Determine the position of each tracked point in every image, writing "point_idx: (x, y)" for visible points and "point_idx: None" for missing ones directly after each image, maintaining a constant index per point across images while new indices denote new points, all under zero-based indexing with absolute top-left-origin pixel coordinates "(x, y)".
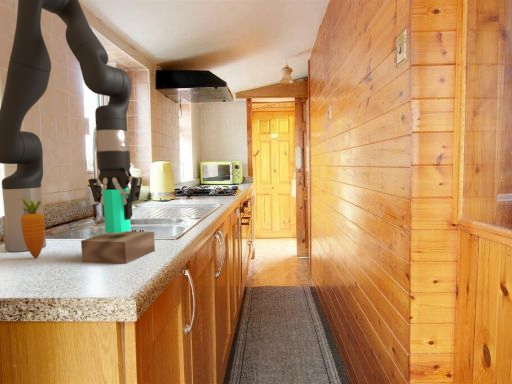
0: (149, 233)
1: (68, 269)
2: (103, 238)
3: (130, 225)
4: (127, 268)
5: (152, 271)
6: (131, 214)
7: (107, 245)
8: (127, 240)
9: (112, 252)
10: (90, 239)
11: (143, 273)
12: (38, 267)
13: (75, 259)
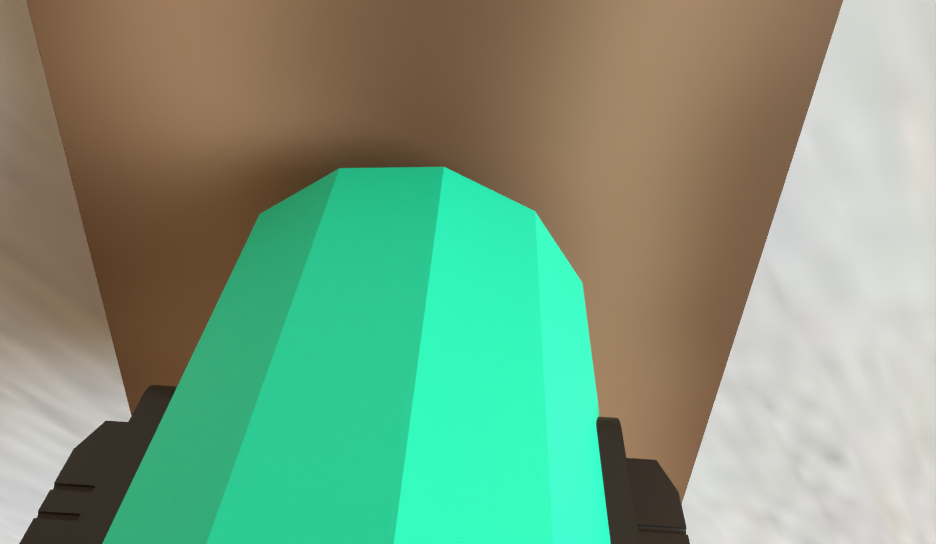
0: (813, 85)
1: None
2: None
3: (586, 326)
4: (717, 447)
5: (931, 488)
6: (673, 516)
7: None
8: (677, 463)
9: None
10: None
11: (877, 518)
12: (15, 452)
13: (74, 273)
